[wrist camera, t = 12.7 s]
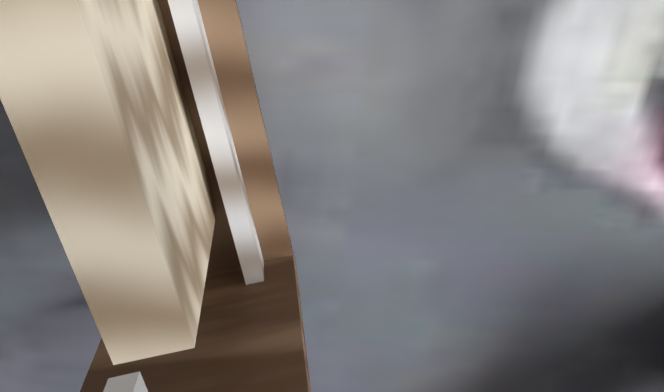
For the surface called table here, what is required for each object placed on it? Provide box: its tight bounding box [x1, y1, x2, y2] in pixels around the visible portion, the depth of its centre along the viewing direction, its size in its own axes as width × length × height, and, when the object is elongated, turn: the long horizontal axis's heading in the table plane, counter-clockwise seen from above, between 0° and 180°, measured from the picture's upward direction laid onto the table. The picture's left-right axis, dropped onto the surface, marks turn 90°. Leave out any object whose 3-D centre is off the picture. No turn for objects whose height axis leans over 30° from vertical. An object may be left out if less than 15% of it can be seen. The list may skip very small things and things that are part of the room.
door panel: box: [0, 0, 217, 365], centre depth 27 cm, size 18×4×14 cm, turn 10°
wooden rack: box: [80, 0, 311, 392], centre depth 25 cm, size 30×12×19 cm, turn 10°
